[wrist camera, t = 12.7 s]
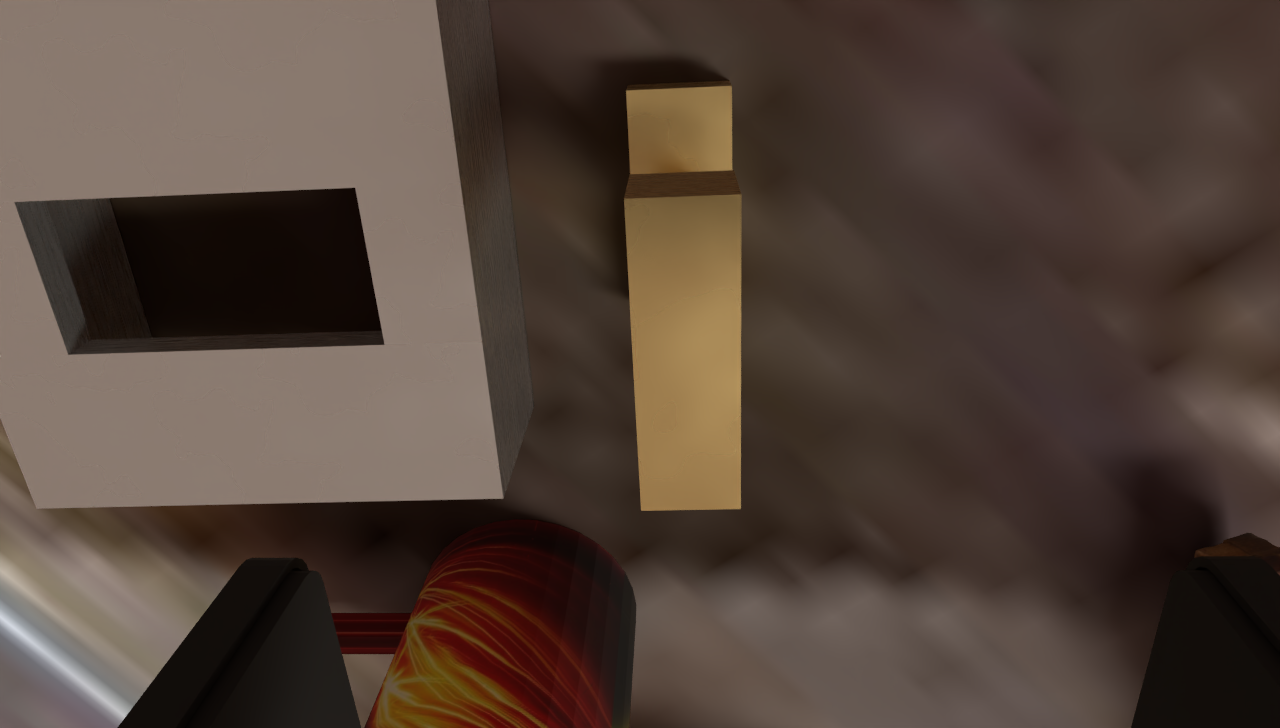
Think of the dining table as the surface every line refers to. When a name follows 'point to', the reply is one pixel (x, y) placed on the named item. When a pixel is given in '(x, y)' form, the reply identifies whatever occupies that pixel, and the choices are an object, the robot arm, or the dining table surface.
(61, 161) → the white slotted holder
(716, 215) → the tall wooden post
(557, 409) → the dining table surface
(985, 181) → the dining table surface
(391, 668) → the mug
